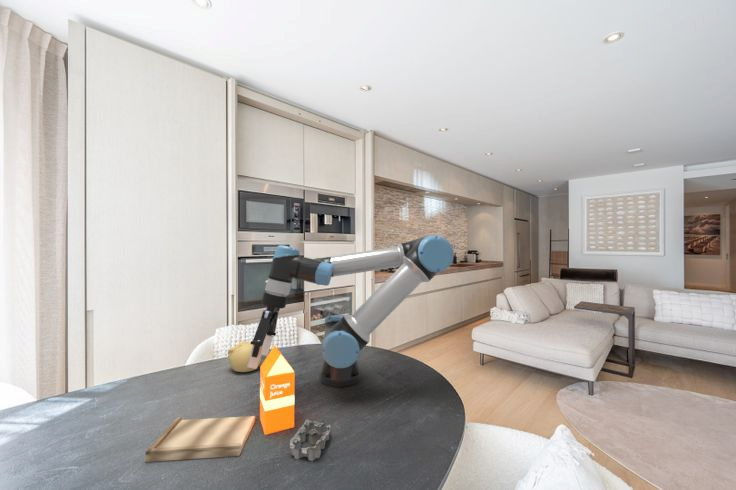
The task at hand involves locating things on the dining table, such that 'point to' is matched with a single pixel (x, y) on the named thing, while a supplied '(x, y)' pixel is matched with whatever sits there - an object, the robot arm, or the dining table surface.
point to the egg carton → (310, 439)
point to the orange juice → (276, 393)
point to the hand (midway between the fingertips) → (258, 361)
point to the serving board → (201, 439)
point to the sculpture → (241, 357)
